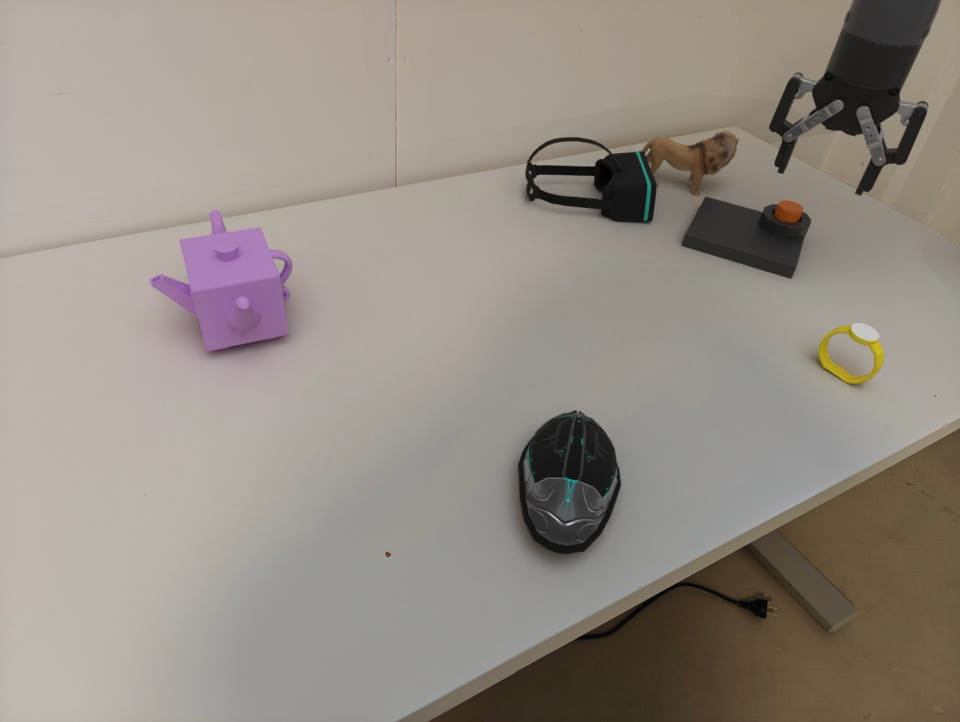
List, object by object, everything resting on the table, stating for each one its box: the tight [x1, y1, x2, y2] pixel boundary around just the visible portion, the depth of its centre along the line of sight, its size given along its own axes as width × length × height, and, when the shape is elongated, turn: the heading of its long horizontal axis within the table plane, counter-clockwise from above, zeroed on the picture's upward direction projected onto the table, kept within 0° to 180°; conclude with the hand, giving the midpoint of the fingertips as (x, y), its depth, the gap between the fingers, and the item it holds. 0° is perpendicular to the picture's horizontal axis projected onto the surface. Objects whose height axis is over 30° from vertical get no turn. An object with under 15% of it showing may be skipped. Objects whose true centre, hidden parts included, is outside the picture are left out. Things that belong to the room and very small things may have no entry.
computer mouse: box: [517, 409, 622, 555], centre depth 57 cm, size 9×17×6 cm, turn 168°
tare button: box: [774, 199, 804, 223], centre depth 90 cm, size 3×3×2 cm
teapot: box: [149, 209, 293, 352], centre depth 68 cm, size 18×13×10 cm
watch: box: [817, 322, 885, 385], centre depth 71 cm, size 6×3×6 cm, turn 40°
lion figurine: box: [641, 130, 740, 197], centre depth 100 cm, size 15×5×9 cm, turn 79°
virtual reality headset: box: [524, 136, 658, 222], centre depth 94 cm, size 11×17×10 cm, turn 89°
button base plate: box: [681, 196, 812, 280], centre depth 91 cm, size 14×13×4 cm
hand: (819, 181), depth 78 cm, fingers open, 8 cm apart
